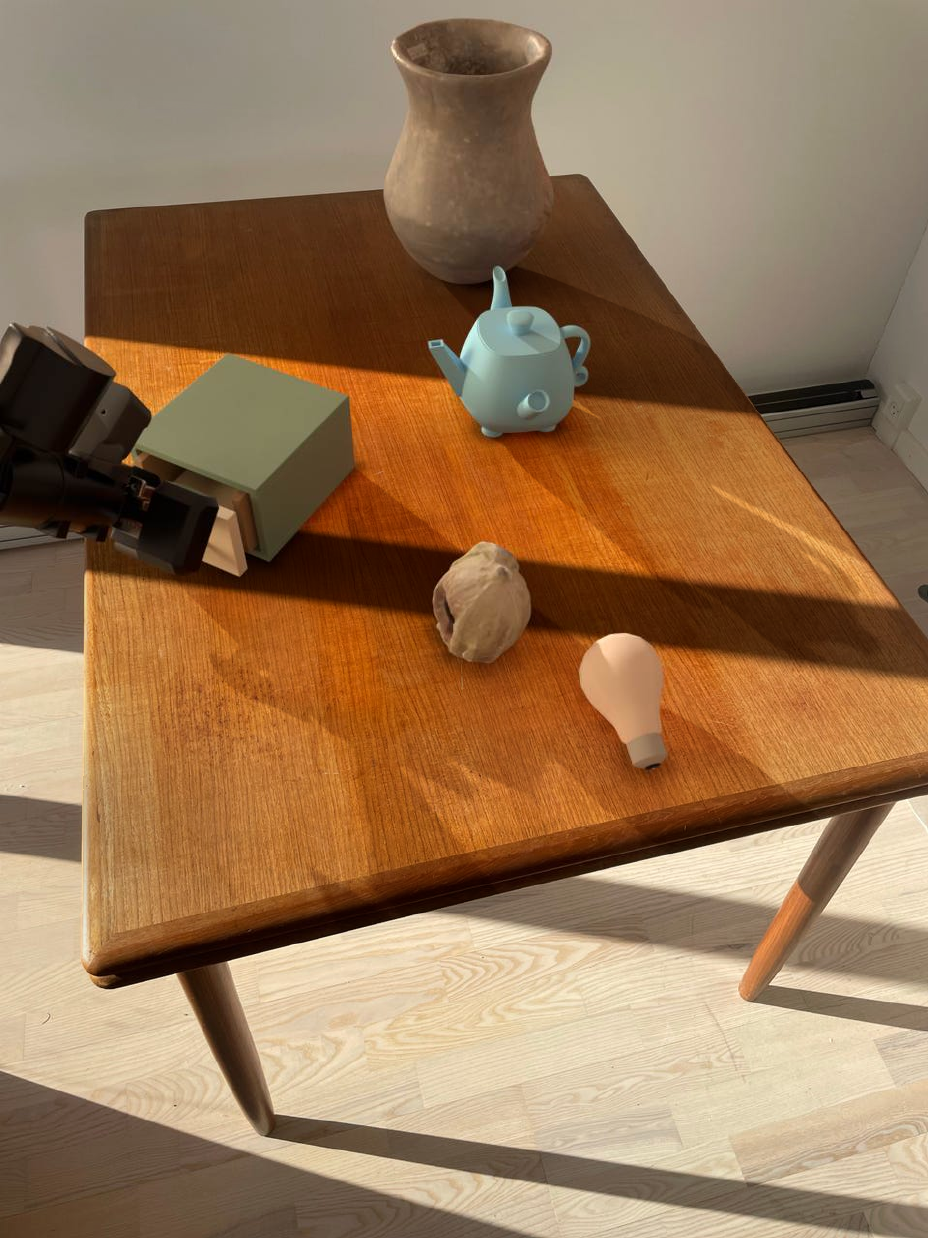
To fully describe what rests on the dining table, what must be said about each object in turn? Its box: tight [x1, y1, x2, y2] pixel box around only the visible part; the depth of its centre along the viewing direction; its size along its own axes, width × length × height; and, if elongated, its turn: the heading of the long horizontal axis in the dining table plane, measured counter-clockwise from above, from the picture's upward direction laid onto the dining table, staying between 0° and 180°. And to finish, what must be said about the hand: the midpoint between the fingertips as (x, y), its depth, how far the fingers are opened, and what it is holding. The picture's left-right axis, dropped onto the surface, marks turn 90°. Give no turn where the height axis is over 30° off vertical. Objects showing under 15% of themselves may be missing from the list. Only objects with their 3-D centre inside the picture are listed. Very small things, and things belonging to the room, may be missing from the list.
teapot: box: [427, 266, 591, 438], centre depth 97 cm, size 15×14×11 cm
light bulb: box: [578, 632, 669, 771], centre depth 74 cm, size 7×7×11 cm
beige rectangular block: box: [174, 469, 239, 511], centre depth 86 cm, size 7×4×2 cm, turn 63°
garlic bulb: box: [432, 541, 532, 664], centre depth 78 cm, size 9×8×10 cm
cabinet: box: [130, 352, 356, 563], centre depth 89 cm, size 15×14×9 cm
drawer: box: [114, 452, 259, 578], centre depth 86 cm, size 18×12×7 cm
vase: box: [383, 17, 555, 285], centre depth 109 cm, size 20×19×25 cm
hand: (167, 506), depth 81 cm, fingers closed, pressing on drawer
